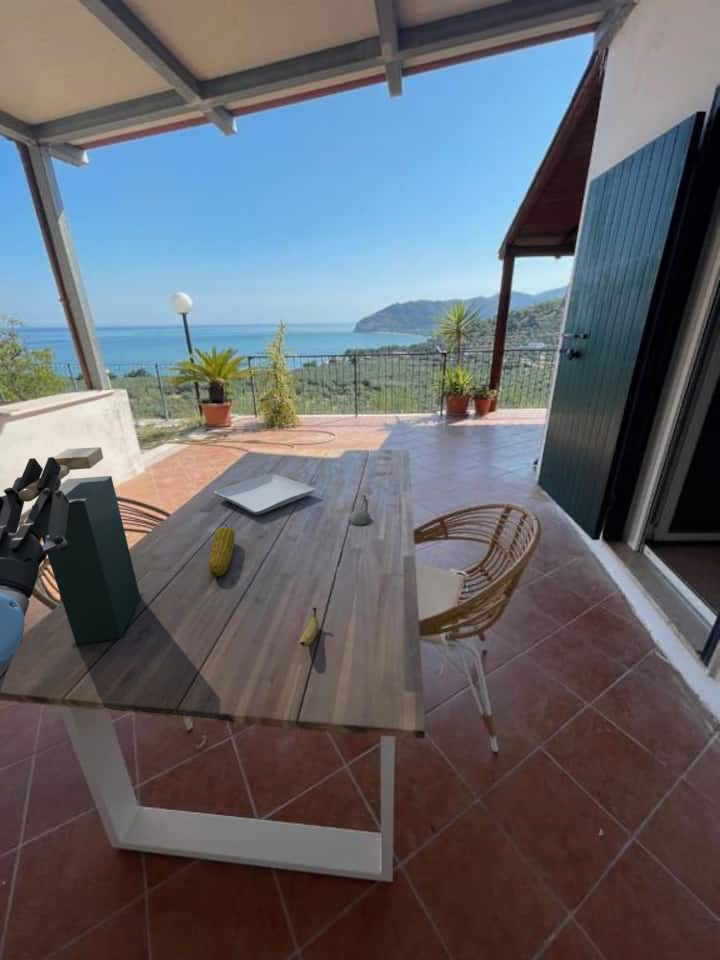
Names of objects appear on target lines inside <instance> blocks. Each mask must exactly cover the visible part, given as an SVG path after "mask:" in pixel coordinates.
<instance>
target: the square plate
mask: <svg viewBox="0 0 720 960" xmlns="http://www.w3.org/2000/svg"><path fill="white" fill-rule="evenodd" d="M315 490H316V488H315V487H312V486H309V485H307V484H304V483H302V482H299V481H296V480H294V479H291V478H288V477H284V476H281V475H278V474H274V473H269V474H266V475H262V476H258V477H254V478H250V479H248V480H247V479H246V480H244V481H241V482H238V483H235V484H232V485H229V486H226V487H223V488H220V489H217V490H214V491H213V494H215V495H216V496H217V497H219V498H220V499H223V500H225V501H227V502H229V503H231V504H234V505H236V506H238V507H239V508H242V510H245V511H247V512H249V513H251V514H253V515H255V516H256V515H257V516H259V515H263V514H266V513H267V512H271V511H274V510H275V509H279V508H281V507H283V506H286V505H288V504H289V505H290V504H291V503H293V502H296V501H298V500H301V499H304V498H306V497H307V496H310V495H311V494H312V493H313V492H315Z"/></svg>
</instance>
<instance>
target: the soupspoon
mask: <svg viewBox="0 0 720 960" xmlns="http://www.w3.org/2000/svg"><path fill="white" fill-rule="evenodd" d="M364 498H365V499H364ZM366 499H367V495H366V494H362V495H361V501H360V504H359V510H354V511H353V512H351V513H350V515H349V521H350V522H351V523H352V524H353V525H355V526H364V525H366V524H368V523H369V521H370V517H371V516H370V514H369V512H368V511H365V510H363V505H364V500H366Z"/></svg>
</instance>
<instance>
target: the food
mask: <svg viewBox="0 0 720 960" xmlns="http://www.w3.org/2000/svg"><path fill="white" fill-rule="evenodd" d="M235 537H236V536H235V533H234V530H233V528H231V527H229V526H220V527H219V528H218V529H216V531H215V533H214V534H213V542H212V546H211V551H210V557H209V571H210V574H211V575H212V576H214V577H221V576H223V575H224V574H225V573H226V571H227V570H228V568H229V566H230V563H231V560H232V556H233V552H234V546H235V545H234V544H235Z"/></svg>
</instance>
